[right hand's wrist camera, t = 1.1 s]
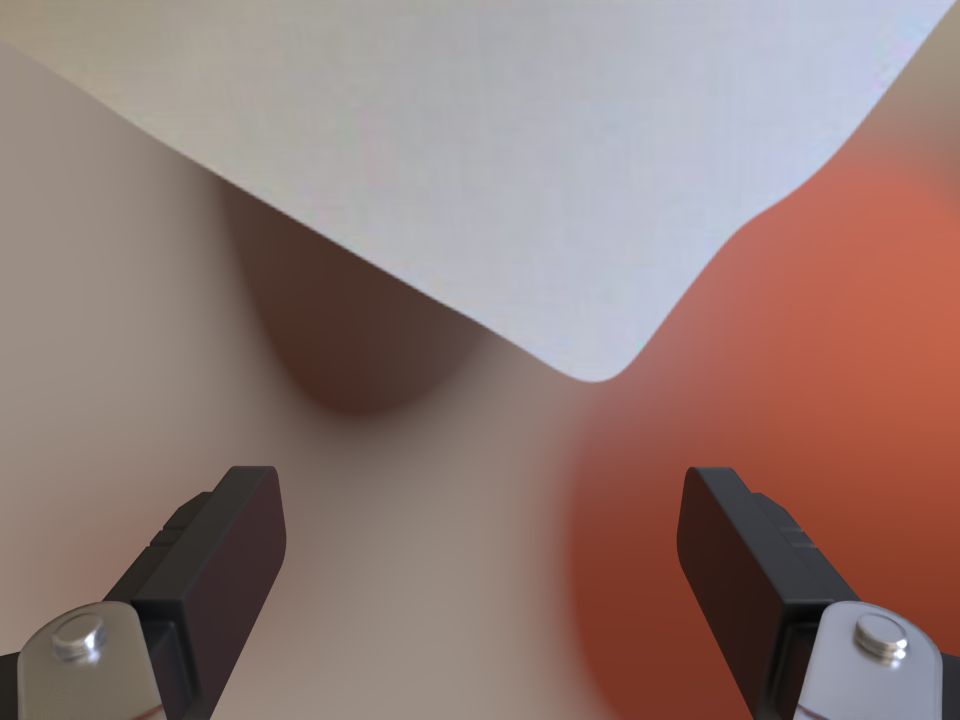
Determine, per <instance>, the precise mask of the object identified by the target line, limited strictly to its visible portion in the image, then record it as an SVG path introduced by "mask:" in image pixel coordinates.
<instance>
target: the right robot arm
mask: <svg viewBox="0 0 960 720" xmlns="http://www.w3.org/2000/svg"><path fill="white" fill-rule="evenodd" d="M285 550H286V529H285V522H284V515H283V508H282V500H281V494H280V486H279V479H278V474H277V471H276V469H275V468H274V467H273V466H233V467H231V468H230V469H229V471H228V472H227V473H226V474H225V476H224V477H223V478H222V480H221V481H220V482H219V484H218V485H217V486H216V487H215V489H214V490H213V491H212V492H202V493H200V494H199V495H197V496H196V497H194V498H193V499H191V500H190V501H188V502H187V503H185V504H184V505H182V506H181V507H179V508H178V509H177V510H176V512H175V513H174V514H173V515H172V516H171V518H170V519H169V520H168V521H167V523H166V524H165V525H164V526H163V530H162V531H159V532H158V534H157V535H156V536H155V537H154V538H153V540H152V541H151V542H150V546H149V547H146V548H145V549H144V550H143V552H142V553H141V554H140V555H139V557H138V558H137V559H136V560H135V561H134V563H133V564H132V565H131V566H130V568H129V569H128V570H127V571H126V572H125V574H124V575H123V576H122V577H121V578H120V580H119V581H118V582H117V583H116V584H115V586H114V587H113V588H112V589H111V591H110V592H109V593H108V594H107V595H106V597H105V598H104V599H103V600H102V601H101V602H95V603H91V604H87V605H84V606H81V607H78V608H75V609H73V610H70V611H68V612H66V613H64V614H62V615H60V616H58V617H56V618H55V619H53V620H52V621H50V622H48V623H47V624H46V625H44V626H43V627H42V628H40V629H39V630H38V631H37V632H36V633H35V634H34V635H33V636H32V637H31V638H30V639H29V640H28V641H27V642H26V644H25V645H24V647H23V648H22V650H21V651H20V652H16V653H12V654H7V655H3V656H0V720H210V718H211V716H212V713H213V711H214V709H215V707H216V705H217V703H218V701H219V698H220V696H221V694H222V692H223V690H224V688H225V686H226V684H227V681H228V679H229V677H230V675H231V673H232V671H233V669H234V666H235V664H236V662H237V660H238V658H239V656H240V653H241V651H242V649H243V647H244V645H245V643H246V641H247V639H248V637H249V634H250V632H251V630H252V628H253V626H254V624H255V622H256V619H257V617H258V615H259V613H260V611H261V609H262V607H263V605H264V602H265V600H266V598H267V596H268V594H269V592H270V590H271V587H272V585H273V583H274V581H275V579H276V577H277V575H278V572H279V570H280V568H281V566H282V563H283V560H284V556H285ZM677 551H678V557H679V561H680V564H681V567H682V569H683V571H684V574H685V576H686V578H687V580H688V582H689V584H690V586H691V588H692V590H693V593H694V595H695V597H696V599H697V601H698V603H699V605H700V607H701V609H702V612H703V614H704V616H705V618H706V620H707V622H708V624H709V626H710V628H711V631H712V633H713V635H714V637H715V639H716V641H717V643H718V645H719V647H720V650H721V652H722V654H723V656H724V658H725V660H726V662H727V664H728V666H729V668H730V671H731V673H732V675H733V677H734V679H735V681H736V683H737V685H738V688H739V690H740V692H741V694H742V696H743V698H744V700H745V702H746V704H747V706H748V709H749V711H750V713H751V715H752V717H753V719H754V720H960V657H957V656H953V655H948V654H945V653H941V652H939V650H938V648H937V647H936V645H935V644H934V642H933V641H932V640H931V639H930V638H929V637H928V636H927V635H926V634H925V633H924V632H923V631H922V630H921V629H920V628H918V627H917V626H916V625H914V624H913V623H912V622H910V621H908V620H907V619H905V618H904V617H902V616H900V615H898V614H896V613H894V612H892V611H890V610H887V609H885V608H882V607H879V606H876V605H873V604H869V603H865V602H862V601H861V600H860V599H859V597H858V596H857V595H856V594H855V592H854V591H853V590H852V589H851V588H850V586H849V585H848V584H847V583H846V582H845V581H844V579H843V578H842V577H841V576H840V575H839V573H838V572H837V571H836V570H835V568H834V567H833V566H832V565H831V564H830V562H829V561H828V560H827V559H826V558H825V556H824V555H823V554H822V553H821V552H820V550H819V549H818V548H815V547H814V543H813V542H812V541H811V540H810V538H809V537H808V536H807V535H806V534H805V533H804V532H801V528H800V526H799V525H798V524H797V523H796V522H795V520H794V519H793V518H792V517H791V516H790V514H789V513H788V512H787V511H786V510H785V509H784V508H783V507H781V506H780V505H778V504H777V503H775V502H774V501H772V500H771V499H769V498H768V497H766V496H765V495H763V494H762V493H751V492H750V490H749V489H748V488H747V487H746V485H745V484H744V483H743V481H742V480H741V479H740V477H739V476H738V475H737V474H736V472H735V471H734V470H733V469H732V468H730V467H690V468H689V469H688V470H687V472H686V476H685V481H684V488H683V495H682V502H681V509H680V516H679V523H678V530H677Z"/></svg>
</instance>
